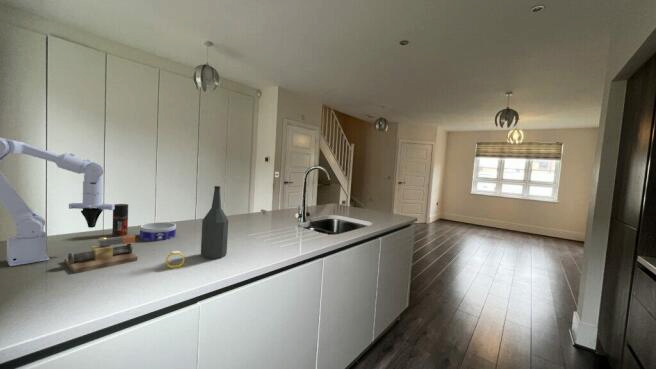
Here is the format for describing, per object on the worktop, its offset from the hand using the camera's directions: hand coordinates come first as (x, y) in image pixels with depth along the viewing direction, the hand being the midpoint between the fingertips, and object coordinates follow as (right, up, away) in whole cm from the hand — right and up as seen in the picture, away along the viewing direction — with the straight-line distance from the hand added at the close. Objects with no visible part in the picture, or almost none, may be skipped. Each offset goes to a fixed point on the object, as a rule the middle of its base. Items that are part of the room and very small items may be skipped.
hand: (91, 227), depth 109 cm
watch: (+37, -14, -6) cm, 40 cm away
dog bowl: (+9, -10, +28) cm, 31 cm away
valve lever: (+13, -6, -4) cm, 15 cm away
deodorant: (-9, -8, +26) cm, 28 cm away
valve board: (+10, -12, -7) cm, 17 cm away
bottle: (+45, -14, +8) cm, 48 cm away
